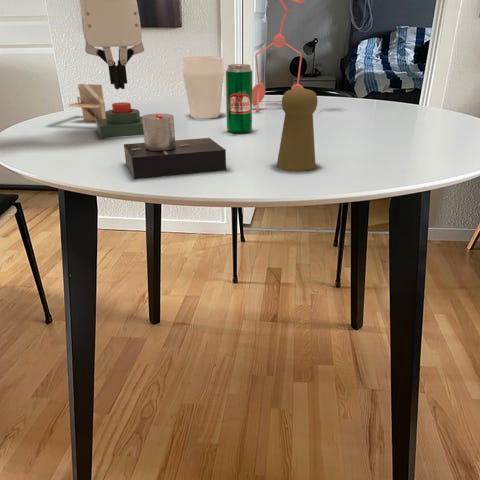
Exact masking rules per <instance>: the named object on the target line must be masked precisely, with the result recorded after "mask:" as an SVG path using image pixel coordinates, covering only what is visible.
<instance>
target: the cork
mask: <svg viewBox="0 0 480 480" xmlns="http://www.w3.org/2000/svg"><path fill="white" fill-rule="evenodd" d="M303 88H304V87H303ZM303 88H297V89H288V90H286V91H284V93H283V95H282V98H281V101H282V102H281V108H282V110H283V112H284V119H283V125H282V129H281V130H282V132H281V136H280V144H279V149H278V155H277V161H276V167H277V168H278V169H280V170H283V171H288V172H307V171H311V170H314V169H315V168H316V149H315V148H316V147H315V131H314V112H315V111H316V110H317V107H318V96H317V93H316V92H315V91H314V90H311V89H308V88H304V89H303Z"/></svg>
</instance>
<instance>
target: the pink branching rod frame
mask: <svg viewBox="0 0 480 480" xmlns="http://www.w3.org/2000/svg"><path fill="white" fill-rule="evenodd" d="M275 1H278V0H275ZM289 1H291V2H294V3H296V4H298V5H303V3H305V2H306V0H289ZM279 2H280V4H281V5H282V7H283V9H284V13H283V16H282V20H281V24H280V28H279V33H278V34H276V35H275V36H273V42H272V43H270V44H268V46H266V47H264V48H262V49H261V50H260V51H258V52H257V53H255V55H254V58H255V69H256V78H257V83H256V84H254V86H252V106H253V107H254V108H255V112H259V107H260V106H259V105H260V103H264V101H263V99H264V98H265V96H266V86H265V84H264V83H263V82H261V83H260V74H259V65H258V55H260V54H261V53H263V52H264V51H266V50H268V49H269V48H270V47H272V46H274V47H276V48H278V49H279V48H283V47H284V45H285V46H286V47H288V48H289V49H291V50H293V51H294V52H295V53H297V54H299V55H300V57H299V65H298V73H297V82H296V83H294V84H293V85H292V86H291V89H297V88H303V89H305V88H304V87H303V85H301V84H300V77H301V68H302V61H303V54H302V52H300V51H298V50H297V49H295V47H293V46H291V45H290V44H288V43H287V42H286V38H285V36H284V35H283V34H282V32H283V28H284V24H285V20H286V18H287V14H288V11H289V10H288V6H287V5H286V4H285V2H284V1H283V0H279ZM291 89H290V90H291ZM265 103H282V100H277V101H275V100H274V101H271V100H269V101H268V100H267V101H266V100H265ZM319 113H321V111H318V113H317V114H319Z"/></svg>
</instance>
